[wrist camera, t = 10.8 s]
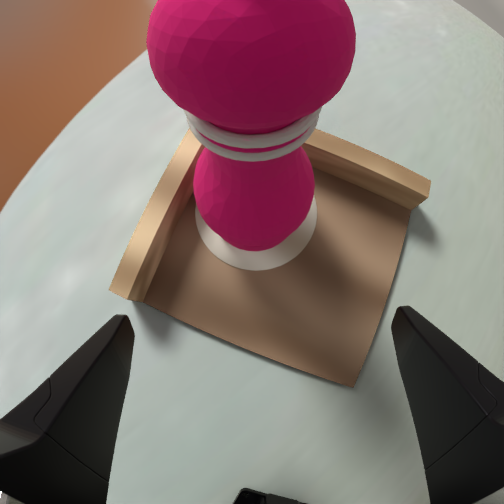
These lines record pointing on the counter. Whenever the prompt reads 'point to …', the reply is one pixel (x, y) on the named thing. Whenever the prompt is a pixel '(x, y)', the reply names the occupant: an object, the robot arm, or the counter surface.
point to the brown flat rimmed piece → (281, 261)
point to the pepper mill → (252, 102)
